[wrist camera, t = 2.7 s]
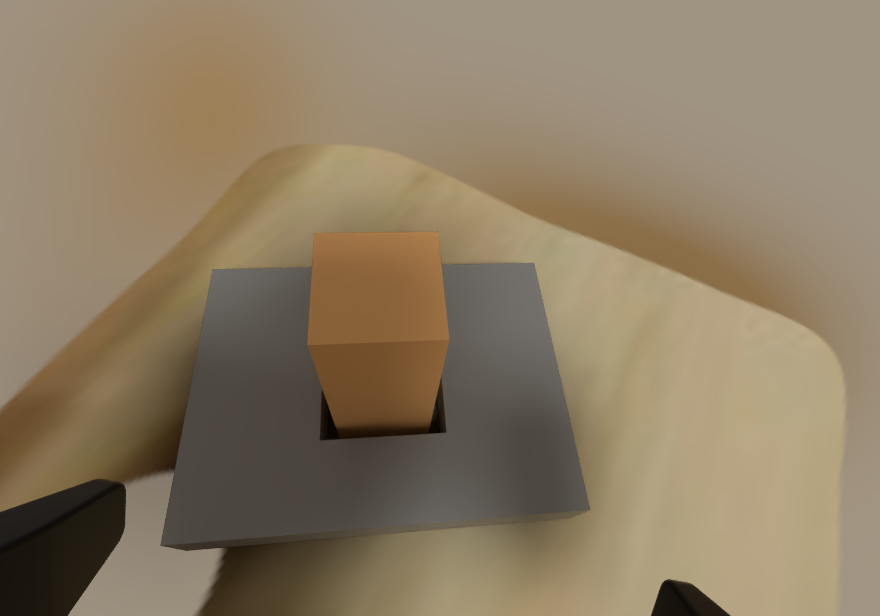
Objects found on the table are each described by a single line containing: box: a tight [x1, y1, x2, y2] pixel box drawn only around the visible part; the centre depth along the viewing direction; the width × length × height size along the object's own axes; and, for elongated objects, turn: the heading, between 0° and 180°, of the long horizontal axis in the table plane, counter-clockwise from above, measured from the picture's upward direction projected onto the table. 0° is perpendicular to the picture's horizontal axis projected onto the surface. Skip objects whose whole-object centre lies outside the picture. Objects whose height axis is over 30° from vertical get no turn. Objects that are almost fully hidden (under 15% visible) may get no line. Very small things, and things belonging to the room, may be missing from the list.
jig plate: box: [161, 263, 590, 551], centre depth 22 cm, size 12×16×2 cm
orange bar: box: [307, 232, 449, 439], centre depth 19 cm, size 4×4×10 cm
